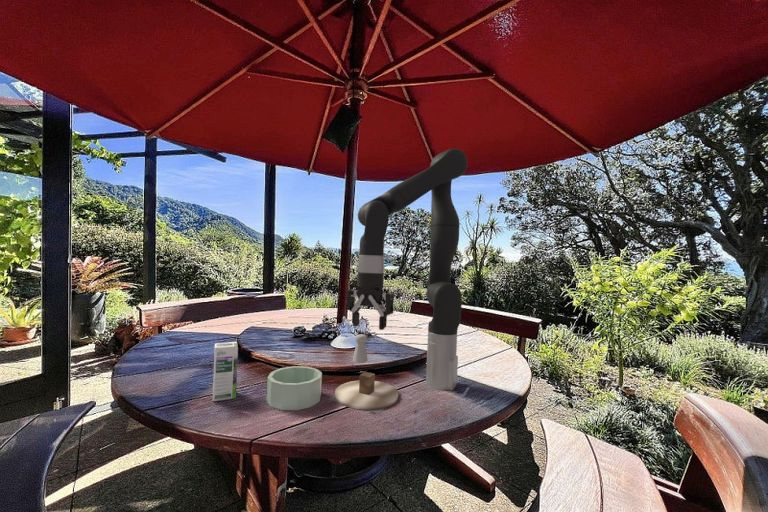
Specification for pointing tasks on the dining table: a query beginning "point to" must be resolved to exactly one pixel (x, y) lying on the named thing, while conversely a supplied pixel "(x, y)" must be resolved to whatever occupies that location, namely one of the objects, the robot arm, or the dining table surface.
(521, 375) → the dining table surface
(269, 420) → the dining table surface
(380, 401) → the lid
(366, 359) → the salt shaker
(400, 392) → the mat
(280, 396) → the bowl
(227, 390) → the syrup box
